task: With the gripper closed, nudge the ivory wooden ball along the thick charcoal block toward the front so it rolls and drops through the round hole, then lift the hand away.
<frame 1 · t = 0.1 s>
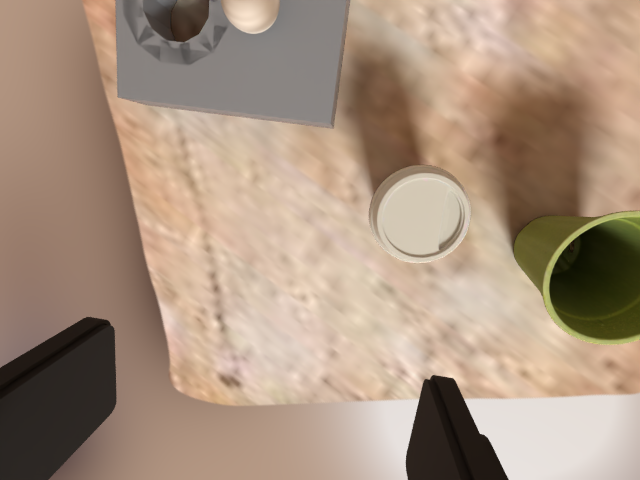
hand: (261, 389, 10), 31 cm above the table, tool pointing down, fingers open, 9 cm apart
deck: (244, 28, 36), on the table
plant pot: (543, 246, 39), on the table
coffee cup: (401, 200, 39), on the table
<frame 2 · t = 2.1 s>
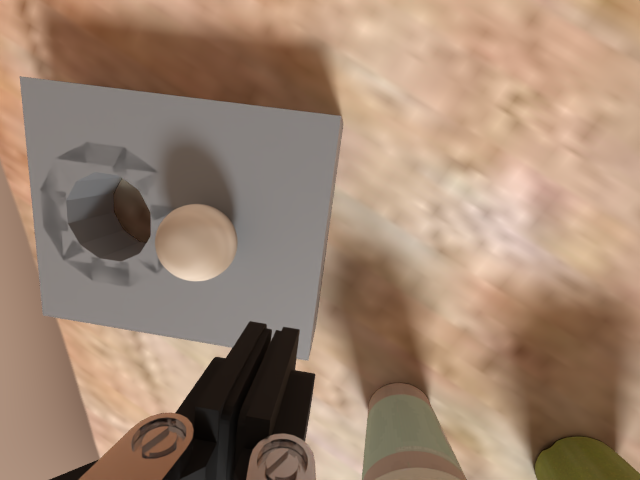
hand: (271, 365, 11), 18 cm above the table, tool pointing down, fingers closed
deck: (203, 215, 29), on the table
ball: (197, 242, 22), point 7 cm above the table, touching deck
plant pot: (571, 464, 32), on the table
coffee cup: (398, 406, 32), on the table
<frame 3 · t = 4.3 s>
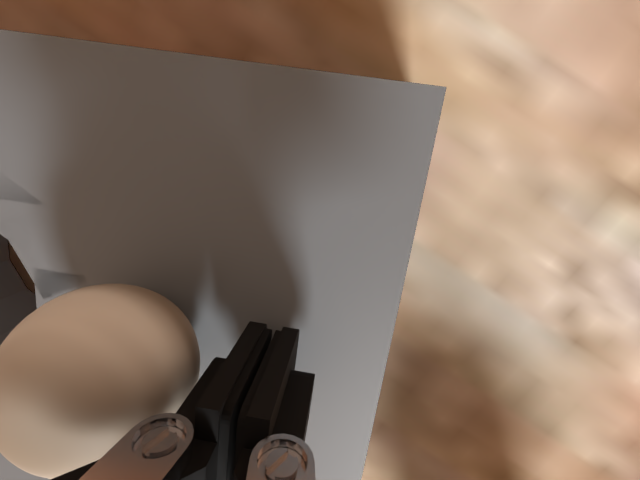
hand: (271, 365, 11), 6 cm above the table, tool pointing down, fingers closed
deck: (159, 269, 17), on the table
ball: (106, 372, 9), point 7 cm above the table, touching deck, gripper
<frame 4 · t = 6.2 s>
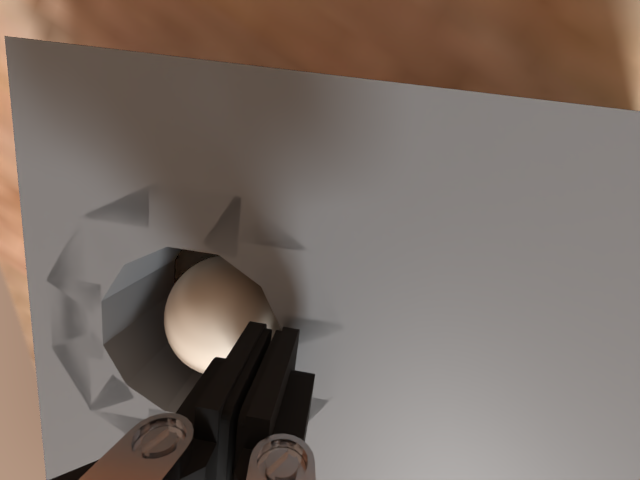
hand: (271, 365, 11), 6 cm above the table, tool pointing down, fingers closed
deck: (336, 302, 16), on the table
ball: (228, 313, 14), point 2 cm above the table, tilted 126°
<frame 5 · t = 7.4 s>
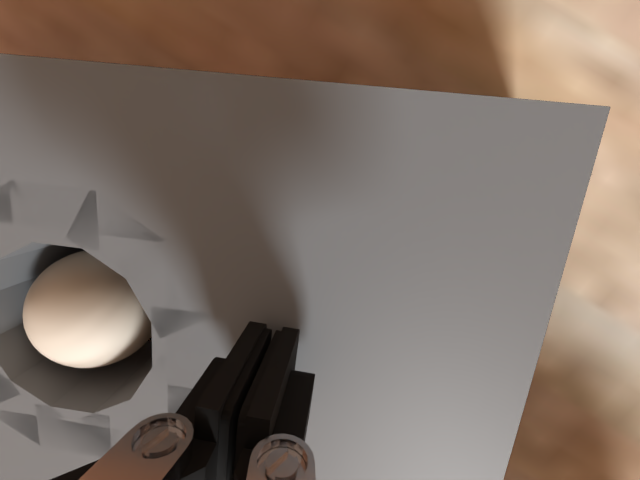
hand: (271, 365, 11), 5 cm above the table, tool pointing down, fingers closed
deck: (244, 296, 16), on the table
ball: (99, 306, 14), point 2 cm above the table, tilted 126°
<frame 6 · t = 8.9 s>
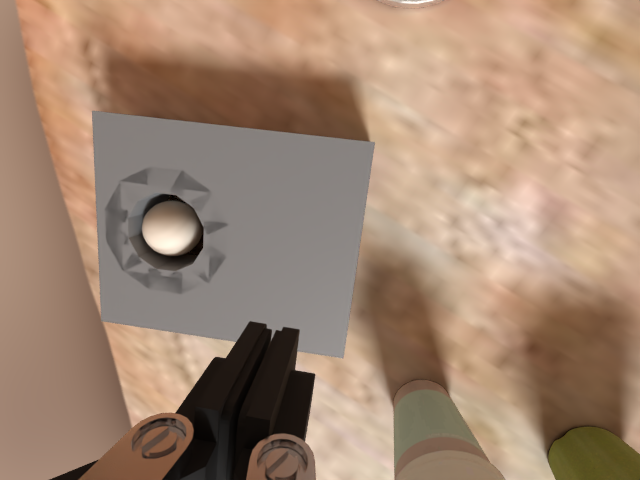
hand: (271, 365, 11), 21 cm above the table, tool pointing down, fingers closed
deck: (243, 229, 32), on the table
ball: (173, 228, 30), point 2 cm above the table, tilted 125°
plant pot: (581, 453, 34), on the table
coffee cup: (421, 402, 35), on the table
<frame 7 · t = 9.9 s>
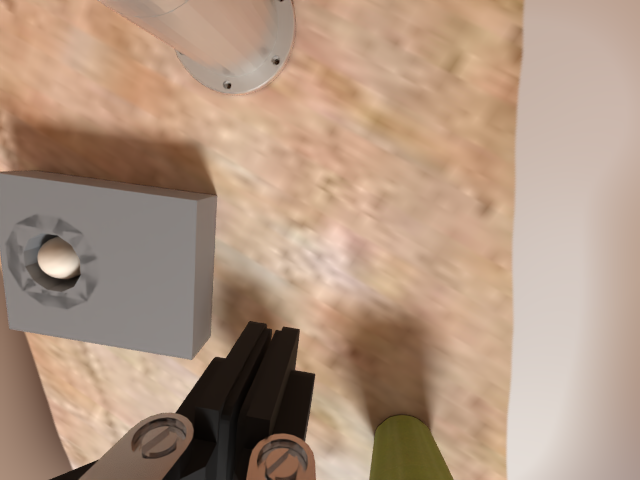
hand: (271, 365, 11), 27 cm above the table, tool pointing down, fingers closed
deck: (126, 256, 41), on the table
ball: (65, 257, 39), point 2 cm above the table, tilted 125°
plant pot: (401, 436, 43), on the table
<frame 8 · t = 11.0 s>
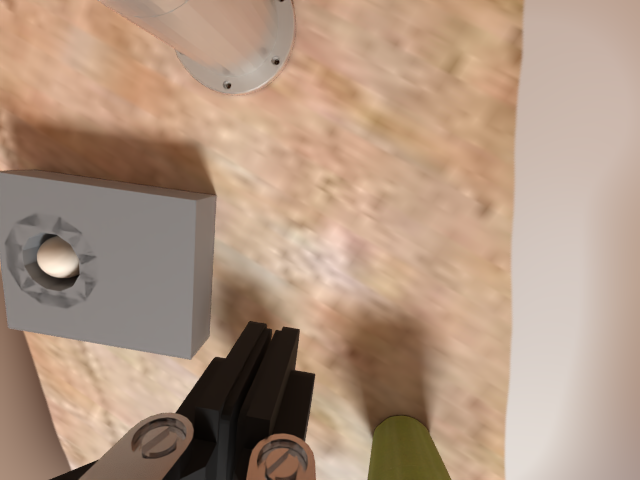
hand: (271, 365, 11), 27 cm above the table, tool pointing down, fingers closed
deck: (125, 256, 41), on the table
ball: (65, 256, 39), point 2 cm above the table, tilted 125°
plant pot: (400, 437, 43), on the table
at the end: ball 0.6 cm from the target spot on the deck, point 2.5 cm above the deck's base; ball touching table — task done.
